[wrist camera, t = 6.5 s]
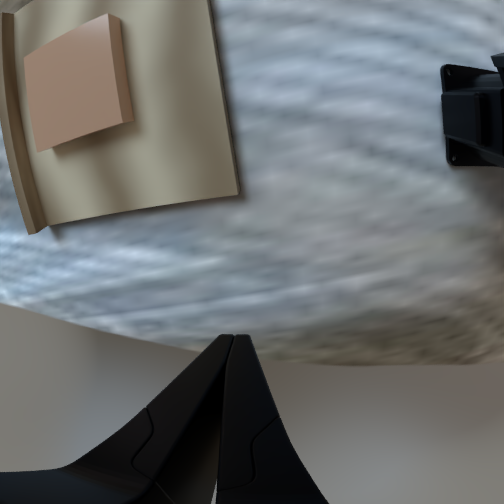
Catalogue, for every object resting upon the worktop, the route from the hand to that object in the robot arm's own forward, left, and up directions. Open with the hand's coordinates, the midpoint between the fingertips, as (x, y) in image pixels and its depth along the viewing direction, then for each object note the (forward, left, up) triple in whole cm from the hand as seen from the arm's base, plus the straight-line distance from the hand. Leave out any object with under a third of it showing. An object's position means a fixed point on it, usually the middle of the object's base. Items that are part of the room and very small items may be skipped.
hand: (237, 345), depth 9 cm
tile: (+7, -10, -10) cm, 16 cm away
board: (+9, -10, -12) cm, 18 cm away
